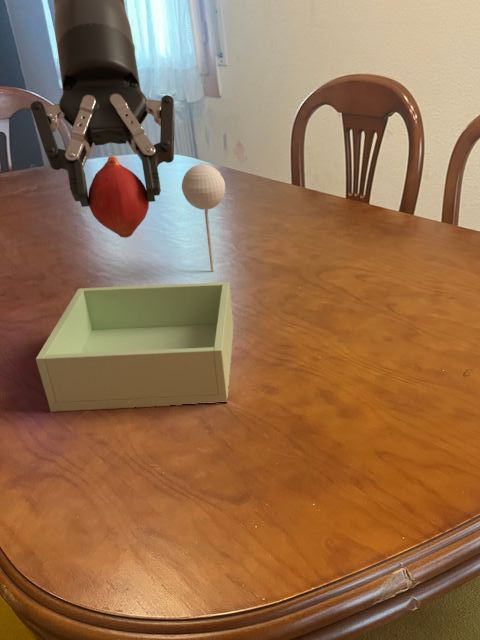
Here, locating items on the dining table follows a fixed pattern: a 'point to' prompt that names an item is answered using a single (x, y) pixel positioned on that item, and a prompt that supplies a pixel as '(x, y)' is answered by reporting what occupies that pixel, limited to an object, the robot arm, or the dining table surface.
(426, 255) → the dining table surface
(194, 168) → the lollipop
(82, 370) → the bin
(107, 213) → the red kuri squash
